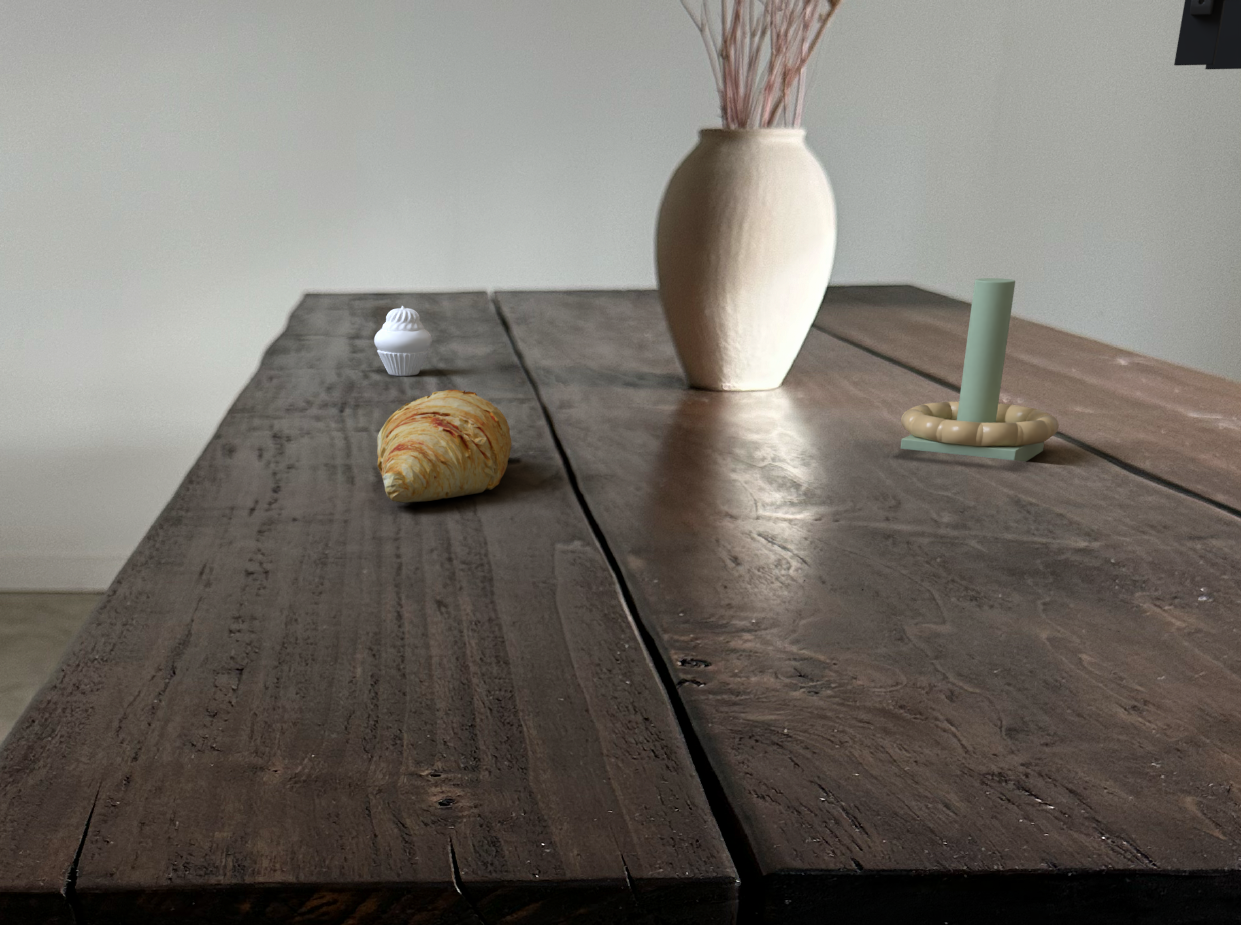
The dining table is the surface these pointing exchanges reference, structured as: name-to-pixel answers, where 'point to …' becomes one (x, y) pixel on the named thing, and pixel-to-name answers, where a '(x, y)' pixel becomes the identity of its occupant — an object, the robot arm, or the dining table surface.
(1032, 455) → the post
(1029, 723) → the dining table surface
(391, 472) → the croissant
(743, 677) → the dining table surface
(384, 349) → the muffin
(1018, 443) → the ring
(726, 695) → the dining table surface
